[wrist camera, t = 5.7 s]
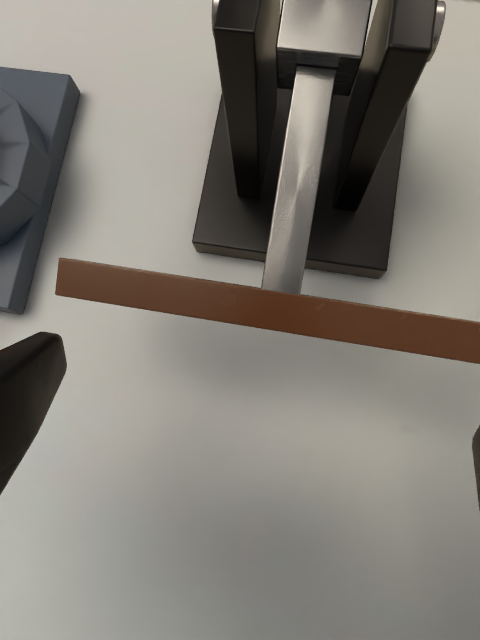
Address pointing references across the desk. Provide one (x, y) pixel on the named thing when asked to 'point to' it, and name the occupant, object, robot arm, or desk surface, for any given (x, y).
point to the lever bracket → (340, 146)
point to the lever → (289, 217)
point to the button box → (29, 169)
